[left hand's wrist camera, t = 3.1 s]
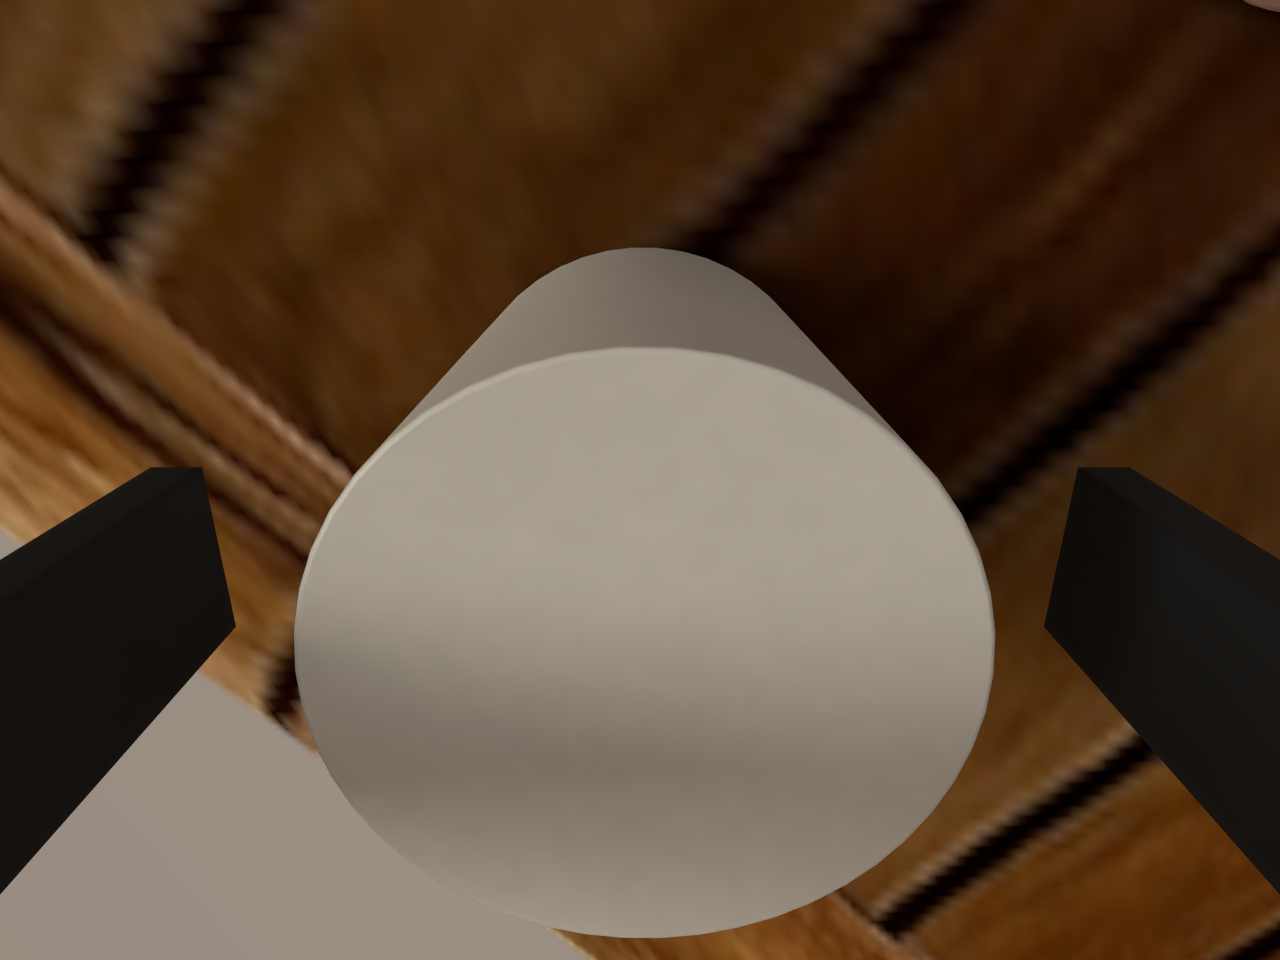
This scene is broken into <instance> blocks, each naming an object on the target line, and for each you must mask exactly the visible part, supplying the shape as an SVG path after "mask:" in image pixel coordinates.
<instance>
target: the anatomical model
mask: <svg viewBox="0 0 1280 960" xmlns="http://www.w3.org/2000/svg"><path fill="white" fill-rule="evenodd" d="M1243 1H1245V2H1247V3H1249V4H1251V5H1254V6H1257V7H1260V8H1264V9H1267V10H1272V11H1278V12H1280V0H1243Z"/></svg>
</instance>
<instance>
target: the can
mask: <svg viewBox="0 0 1280 960" xmlns="http://www.w3.org/2000/svg"><path fill="white" fill-rule="evenodd" d="M294 642H295V671H296V677H297V682H298V687H299V693H300V698H301V704H302V708H303V711H304V714H305V717H306V720H307V723H308V726H309V729H310V732H311V734H312V737H313V740H314V743H315V745H316V747H317V749H318V751H319V753H320V755H321V757H322V759H323V761H324V763H325V765H326V767H327V769H328V770H329V772H330V774H331V776H332V778H333V779H334V781H335V782H336V784H337V785H338V787H339V788H340V789H341V791H342V792H343V794H344V795H345V797H346V798H347V799H348V801H349V802H350V804H351V805H352V807H353V808H354V809H355V810H356V811H357V812H358V813H359V815H360V816H361V817H362V818H363V819H364V820H365V821H366V822H367V823H368V824H369V826H370V827H371V828H372V829H373V830H374V831H375V832H376V833H377V834H378V836H380V837H381V838H382V839H383V840H384V841H385V842H386V843H388V844H389V845H390V846H391V847H392V848H393V849H395V850H396V851H397V852H398V853H399V854H400V855H401V856H403V857H404V858H405V859H406V860H407V861H409V862H410V863H412V864H413V865H414V866H416V867H417V868H419V869H420V870H422V871H423V872H425V873H426V874H428V875H429V876H430V877H432V878H433V879H435V880H436V881H438V882H439V883H441V884H443V885H445V886H447V887H449V888H450V889H452V890H454V891H456V892H458V893H460V894H462V895H464V896H465V897H467V898H469V899H471V900H473V901H475V902H478V903H480V904H483V905H485V906H488V907H490V908H492V909H495V910H497V911H500V912H502V913H505V914H507V915H510V916H513V917H516V918H520V919H523V920H527V921H530V922H533V923H536V924H540V925H543V926H547V927H552V928H557V929H562V930H567V931H572V932H577V933H582V934H591V935H601V936H611V937H621V938H666V937H677V936H689V935H700V934H706V933H711V932H716V931H722V930H727V929H733V928H738V927H742V926H745V925H749V924H752V923H756V922H759V921H763V920H766V919H770V918H773V917H777V916H779V915H782V914H784V913H787V912H789V911H792V910H794V909H797V908H799V907H802V906H804V905H807V904H809V903H812V902H814V901H816V900H818V899H820V898H821V897H823V896H825V895H827V894H829V893H831V892H833V891H835V890H837V889H839V888H841V887H843V886H845V885H846V884H848V883H849V882H851V881H852V880H854V879H855V878H857V877H858V876H860V875H861V874H863V873H864V872H866V871H867V870H869V869H870V868H872V867H873V866H875V865H876V864H878V863H879V862H880V861H881V860H883V859H884V858H885V857H886V856H887V855H889V854H890V853H891V852H892V851H893V850H895V849H896V848H897V847H898V846H899V845H900V844H902V843H903V842H904V841H905V840H906V839H907V838H908V837H909V836H910V835H911V834H912V833H913V832H914V831H915V830H916V829H917V828H918V827H919V826H920V825H921V823H922V822H923V821H924V820H925V819H926V818H927V817H928V816H929V815H930V814H931V813H932V812H933V810H934V809H935V808H936V806H937V805H938V803H939V802H940V801H941V799H942V798H943V797H944V795H945V794H946V792H947V791H948V790H949V788H950V787H951V785H952V784H953V783H954V781H955V780H956V778H957V776H958V774H959V772H960V770H961V768H962V767H963V765H964V763H965V761H966V759H967V757H968V755H969V754H970V752H971V750H972V748H973V745H974V743H975V740H976V737H977V734H978V732H979V729H980V726H981V723H982V721H983V718H984V715H985V712H986V708H987V703H988V698H989V693H990V688H991V683H992V679H993V671H994V650H995V626H994V617H993V608H992V599H991V592H990V588H989V585H988V581H987V578H986V574H985V570H984V567H983V563H982V560H981V556H980V553H979V551H978V548H977V546H976V544H975V542H974V540H973V538H972V535H971V533H970V531H969V529H968V527H967V525H966V522H965V520H964V518H963V516H962V514H961V513H960V511H959V510H958V508H957V507H956V505H955V504H954V502H953V501H952V499H951V498H950V496H949V495H948V493H947V492H946V490H945V489H944V487H943V486H942V484H941V483H940V481H939V480H938V478H937V477H936V476H935V475H934V474H933V473H932V471H931V470H930V469H929V468H928V467H927V466H926V465H925V464H924V463H923V462H922V460H921V459H920V458H919V457H918V456H917V455H916V454H915V453H914V452H913V451H912V450H911V448H910V447H909V446H908V445H907V444H906V443H905V442H904V441H903V440H902V439H901V438H900V437H899V435H898V434H897V433H896V432H895V431H894V430H893V429H892V428H891V427H890V426H889V425H888V424H887V423H886V421H885V420H884V419H883V418H882V417H881V416H880V415H879V414H878V413H877V412H876V411H875V410H874V409H873V407H872V406H871V405H870V404H869V403H868V402H867V401H866V400H865V399H864V398H863V397H862V396H861V394H860V393H859V392H858V391H857V390H856V389H855V388H854V387H853V386H852V385H851V384H850V383H849V382H848V380H847V379H846V378H845V377H844V376H843V375H842V374H841V373H840V372H839V371H838V370H837V369H836V368H835V366H834V365H833V364H832V363H831V362H830V361H829V360H828V359H827V358H826V357H825V356H824V355H823V354H822V352H821V351H820V350H819V349H818V348H817V347H816V346H815V345H814V344H813V343H812V342H811V341H810V340H809V338H808V337H807V336H806V335H805V334H804V333H803V332H802V331H801V330H800V329H799V328H798V327H797V326H796V324H795V323H794V322H793V321H792V320H791V319H790V318H789V317H788V316H787V315H786V314H785V313H784V312H783V310H782V309H781V308H780V307H779V306H778V305H777V304H776V303H775V302H774V301H773V300H772V299H771V298H770V297H769V296H768V295H767V294H766V293H764V292H763V291H762V290H761V289H760V288H758V287H757V286H756V285H755V284H754V283H752V282H751V281H749V280H748V279H746V278H745V277H743V276H741V275H740V274H738V273H736V272H735V271H733V270H732V269H730V268H728V267H725V266H723V265H721V264H718V263H716V262H714V261H712V260H709V259H707V258H704V257H700V256H697V255H693V254H690V253H686V252H682V251H675V250H668V249H661V248H626V249H619V250H611V251H605V252H601V253H598V254H594V255H590V256H586V257H583V258H580V259H578V260H575V261H573V262H571V263H568V264H566V265H564V266H561V267H559V268H557V269H555V270H554V271H552V272H550V273H549V274H547V275H545V276H544V277H542V278H540V279H539V280H537V281H536V282H535V283H533V284H532V285H531V286H530V287H528V288H527V289H526V290H525V291H523V292H522V293H521V294H520V295H518V296H517V297H516V299H515V300H514V301H513V302H512V303H511V304H510V305H509V306H508V307H507V308H506V309H505V310H504V311H503V312H502V313H501V314H500V316H499V317H498V318H497V319H496V320H495V321H494V322H493V323H492V324H491V325H490V327H489V328H488V329H487V330H486V331H485V332H484V333H483V334H482V335H481V336H480V337H479V339H478V340H477V341H476V342H475V343H474V344H473V345H472V346H471V347H470V348H469V350H468V351H467V352H466V353H465V354H464V355H463V356H462V357H461V358H460V359H459V360H458V362H457V363H456V364H455V365H454V366H453V367H452V368H451V369H450V370H449V371H448V373H447V374H446V375H445V376H444V377H443V378H442V379H441V380H440V381H439V382H438V384H437V385H436V386H435V387H434V388H433V389H432V390H431V391H430V392H429V393H428V394H427V396H426V397H425V398H424V399H423V400H422V401H421V402H420V403H419V404H418V405H417V407H416V408H415V409H414V410H413V411H412V412H411V413H410V414H409V415H408V416H407V417H406V419H405V420H404V421H403V422H402V423H401V424H400V425H399V426H398V427H397V428H396V430H395V431H394V432H393V433H392V434H391V435H390V436H389V437H388V438H387V439H386V440H385V442H384V443H383V444H382V445H381V446H380V447H379V448H378V449H377V450H376V451H375V453H374V454H373V455H372V456H371V457H370V458H369V459H368V460H367V461H366V462H365V464H364V465H363V466H362V467H361V468H360V469H359V470H358V471H357V472H356V473H355V475H354V476H353V477H352V479H351V480H350V482H349V483H348V485H347V486H346V488H345V489H344V490H343V492H342V493H341V495H340V496H339V498H338V499H337V501H336V502H335V504H334V505H333V506H332V508H331V509H330V511H329V513H328V515H327V517H326V519H325V521H324V523H323V525H322V527H321V529H320V532H319V534H318V536H317V538H316V540H315V542H314V544H313V546H312V548H311V551H310V554H309V558H308V561H307V564H306V568H305V571H304V574H303V578H302V581H301V584H300V588H299V594H298V602H297V610H296V617H295V625H294Z"/></svg>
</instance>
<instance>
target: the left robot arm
mask: <svg viewBox="0 0 1280 960" xmlns="http://www.w3.org/2000/svg"><path fill="white" fill-rule="evenodd" d="M235 627H236V625H235V620H234V616H233V611H232V606H231V602H230V597H229V592H228V587H227V583H226V578H225V573H224V569H223V564H222V559H221V555H220V550H219V545H218V541H217V536H216V531H215V527H214V522H213V517H212V513H211V508H210V503H209V499H208V494H207V489H206V485H205V480H204V475H203V471H202V468H149V469H147V470H146V471H144V472H143V473H141V474H139V475H138V476H136V477H134V478H133V479H131V480H130V481H128V482H126V483H125V484H123V485H121V486H120V487H118V488H117V489H115V490H113V491H112V492H110V493H108V494H107V495H105V496H103V497H102V498H100V499H99V500H97V501H95V502H94V503H92V504H90V505H89V506H87V507H86V508H84V509H82V510H81V511H79V512H77V513H76V514H74V515H73V516H71V517H69V518H68V519H66V520H64V521H63V522H61V523H59V524H58V525H56V526H55V527H53V528H51V529H50V530H48V531H46V532H45V533H43V534H42V535H40V536H38V537H37V538H35V539H33V540H32V541H30V542H29V543H27V544H25V545H24V546H22V547H20V548H19V549H17V550H15V551H14V552H12V553H11V554H9V555H7V556H6V557H4V558H3V559H1V560H0V894H1V893H2V892H3V891H4V889H5V888H6V887H7V886H8V885H9V884H10V883H11V882H12V880H13V879H14V878H15V877H16V876H17V875H18V874H19V872H20V871H21V870H22V869H23V868H24V867H25V866H26V864H27V863H28V862H29V861H30V860H31V859H32V858H33V857H34V855H35V854H36V853H37V852H38V851H39V850H40V849H41V847H42V846H43V845H44V844H45V843H46V842H47V841H48V839H49V838H50V837H51V836H52V835H53V834H54V833H55V832H56V830H57V829H58V828H59V827H60V826H61V825H62V824H63V822H64V821H65V820H66V819H67V818H68V817H69V816H70V814H71V813H72V812H73V811H74V810H75V809H76V808H77V807H78V805H79V804H80V803H81V802H82V801H83V800H84V799H85V797H86V796H87V795H88V794H89V793H90V792H91V791H92V789H93V788H94V787H95V786H96V785H97V784H98V783H99V782H100V780H101V779H102V778H103V777H104V776H105V775H106V774H107V772H108V771H109V770H110V769H111V768H112V767H113V766H114V764H115V763H116V762H117V761H118V760H119V759H120V758H121V757H122V755H123V754H124V753H125V752H126V751H127V750H128V749H129V747H130V746H131V745H132V744H133V743H134V742H135V741H136V739H137V738H138V737H139V736H140V735H141V734H142V733H143V732H144V730H145V729H146V728H147V727H148V726H149V725H150V724H151V722H152V721H153V720H154V719H155V718H156V717H157V716H158V714H159V713H160V712H161V711H162V710H163V709H164V708H165V707H166V705H167V704H168V703H169V702H170V701H171V700H172V699H173V697H174V696H175V695H176V694H177V693H178V692H179V691H180V689H181V688H182V687H183V686H184V685H185V684H186V683H187V681H188V680H189V679H190V678H191V677H192V676H193V675H194V674H195V672H196V671H197V670H198V669H199V668H200V667H201V666H202V664H203V663H204V662H205V661H206V660H207V659H208V658H209V657H210V655H211V654H212V653H213V652H214V651H215V650H216V649H217V647H218V646H219V645H220V644H221V643H222V642H223V641H224V639H225V638H226V637H227V636H228V635H229V634H230V633H231V632H232V630H233V629H234V628H235ZM1044 627H1045V628H1046V629H1047V630H1048V632H1049V633H1050V634H1051V635H1052V636H1053V637H1054V638H1055V639H1056V641H1057V642H1058V643H1059V644H1060V645H1061V646H1062V647H1063V649H1064V650H1065V651H1066V652H1067V653H1068V654H1069V655H1070V657H1071V658H1072V659H1073V660H1074V661H1075V662H1076V663H1077V664H1078V666H1079V667H1080V668H1081V669H1082V670H1083V671H1084V672H1085V674H1086V675H1087V676H1088V677H1089V678H1090V679H1091V680H1092V682H1093V683H1094V684H1095V685H1096V686H1097V687H1098V688H1099V689H1100V691H1101V692H1102V693H1103V694H1104V695H1105V696H1106V697H1107V699H1108V700H1109V701H1110V702H1111V703H1112V704H1113V705H1114V707H1115V708H1116V709H1117V710H1118V711H1119V712H1120V713H1121V714H1122V716H1123V717H1124V718H1125V719H1126V720H1127V721H1128V722H1129V724H1130V725H1131V726H1132V727H1133V728H1134V729H1135V730H1136V732H1137V733H1138V734H1139V735H1140V736H1141V737H1142V738H1143V739H1144V741H1145V742H1146V743H1147V744H1148V745H1149V746H1150V747H1151V749H1152V750H1153V751H1154V752H1155V753H1156V754H1157V755H1158V757H1159V758H1160V759H1161V760H1162V761H1163V762H1164V763H1165V764H1166V766H1167V767H1168V768H1169V769H1170V770H1171V771H1172V772H1173V774H1174V775H1175V776H1176V777H1177V778H1178V779H1179V780H1180V782H1181V783H1182V784H1183V785H1184V786H1185V787H1186V788H1187V789H1188V791H1189V792H1190V793H1191V794H1192V795H1193V796H1194V797H1195V799H1196V800H1197V801H1198V802H1199V803H1200V804H1201V805H1202V807H1203V808H1204V809H1205V810H1206V811H1207V812H1208V813H1209V814H1210V816H1211V817H1212V818H1213V819H1214V820H1215V821H1216V822H1217V824H1218V825H1219V826H1220V827H1221V828H1222V829H1223V830H1224V832H1225V833H1226V834H1227V835H1228V836H1229V837H1230V838H1231V839H1232V841H1233V842H1234V843H1235V844H1236V845H1237V846H1238V847H1239V849H1240V850H1241V851H1242V852H1243V853H1244V854H1245V855H1246V857H1247V858H1248V859H1249V860H1250V861H1251V862H1252V863H1253V864H1254V866H1255V867H1256V868H1257V869H1258V870H1259V871H1260V872H1261V874H1262V875H1263V876H1264V877H1265V878H1266V879H1267V880H1268V882H1269V883H1270V884H1271V885H1272V886H1273V887H1274V888H1275V889H1276V891H1277V892H1278V893H1279V894H1280V560H1279V559H1278V558H1276V557H1274V556H1273V555H1271V554H1269V553H1268V552H1266V551H1265V550H1263V549H1261V548H1260V547H1258V546H1256V545H1255V544H1253V543H1251V542H1250V541H1248V540H1247V539H1245V538H1243V537H1242V536H1240V535H1238V534H1237V533H1235V532H1234V531H1232V530H1230V529H1229V528H1227V527H1225V526H1224V525H1222V524H1221V523H1219V522H1217V521H1216V520H1214V519H1212V518H1211V517H1209V516H1207V515H1206V514H1204V513H1203V512H1201V511H1199V510H1198V509H1196V508H1194V507H1193V506H1191V505H1190V504H1188V503H1186V502H1185V501H1183V500H1181V499H1180V498H1178V497H1177V496H1175V495H1173V494H1172V493H1170V492H1168V491H1167V490H1165V489H1163V488H1162V487H1160V486H1159V485H1157V484H1155V483H1154V482H1152V481H1150V480H1149V479H1147V478H1146V477H1144V476H1142V475H1141V474H1139V473H1137V472H1136V471H1134V470H1133V469H1131V468H1078V471H1077V475H1076V480H1075V485H1074V489H1073V494H1072V499H1071V503H1070V508H1069V513H1068V517H1067V522H1066V527H1065V531H1064V536H1063V541H1062V545H1061V550H1060V555H1059V559H1058V564H1057V569H1056V573H1055V578H1054V583H1053V587H1052V592H1051V597H1050V602H1049V606H1048V611H1047V616H1046V620H1045V625H1044Z"/></svg>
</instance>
